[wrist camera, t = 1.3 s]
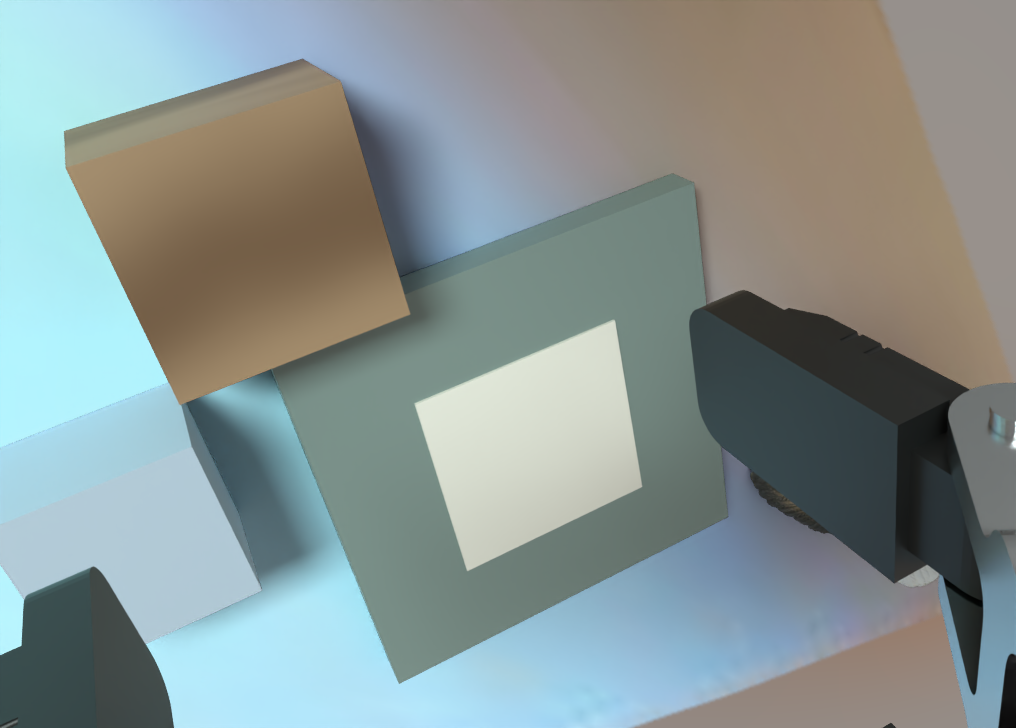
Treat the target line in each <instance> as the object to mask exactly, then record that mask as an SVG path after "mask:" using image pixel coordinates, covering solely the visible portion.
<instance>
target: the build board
mask: <svg viewBox="0 0 1016 728" xmlns="http://www.w3.org/2000/svg"><path fill="white" fill-rule="evenodd" d="M400 281H401V285H402V288H403V291H404V295H405V298H406V301H407V305H408V308H409V312H410V315H407V316H405V317H402V318H400V319H397V320H395V321H392V322H390V323H387V324H385V325H382V326H379V327H377V328H374V329H372V330H369V331H367V332H364V333H362V334H359V335H357V336H354V337H352V338H349V339H346V340H344V341H341V342H339V343H336V344H334V345H331V346H329V347H326V348H324V349H321V350H318V351H316V352H313V353H311V354H308V355H306V356H303V357H301V358H298V359H296V360H293V361H291V362H288V363H285V364H283V365H280V366H278V367H275V368H273V369H271V371H272V374H273V376H274V379H275V381H276V384H277V386H278V389H279V391H280V394H281V396H282V399H283V401H284V404H285V406H286V408H287V411H288V413H289V416H290V418H291V421H292V423H293V426H294V428H295V431H296V433H297V436H298V438H299V440H300V443H301V445H302V448H303V450H304V453H305V455H306V458H307V460H308V463H309V465H310V468H311V470H312V472H313V475H314V477H315V480H316V482H317V485H318V487H319V490H320V492H321V495H322V497H323V500H324V502H325V505H326V507H327V509H328V512H329V514H330V517H331V519H332V522H333V524H334V527H335V529H336V532H337V534H338V537H339V539H340V541H341V544H342V546H343V549H344V551H345V554H346V556H347V559H348V561H349V564H350V566H351V569H352V571H353V574H354V576H355V578H356V581H357V583H358V586H359V588H360V591H361V593H362V596H363V598H364V601H365V603H366V606H367V608H368V610H369V613H370V615H371V618H372V620H373V623H374V625H375V628H376V630H377V633H378V635H379V638H380V640H381V642H382V645H383V647H384V650H385V652H386V655H387V657H388V660H389V662H390V664H391V667H392V669H393V671H394V673H395V675H396V678H397V680H398V682H399V684H400V683H402V682H404V681H406V680H408V679H410V678H412V677H414V676H416V675H418V674H420V673H422V672H423V671H425V670H427V669H429V668H431V667H433V666H435V665H437V664H439V663H441V662H443V661H445V660H447V659H449V658H451V657H453V656H455V655H457V654H459V653H461V652H463V651H465V650H467V649H469V648H471V647H473V646H475V645H477V644H479V643H481V642H483V641H485V640H487V639H489V638H491V637H492V636H494V635H496V634H498V633H500V632H502V631H504V630H506V629H508V628H510V627H512V626H514V625H516V624H518V623H520V622H522V621H524V620H526V619H528V618H530V617H532V616H534V615H536V614H538V613H540V612H542V611H544V610H546V609H548V608H550V607H552V606H554V605H556V604H558V603H560V602H561V601H563V600H565V599H567V598H569V597H571V596H573V595H575V594H577V593H579V592H581V591H583V590H585V589H587V588H589V587H591V586H593V585H595V584H597V583H599V582H601V581H603V580H605V579H607V578H609V577H611V576H613V575H615V574H617V573H619V572H621V571H623V570H625V569H627V568H629V567H630V566H632V565H634V564H636V563H638V562H640V561H642V560H644V559H646V558H648V557H650V556H652V555H654V554H656V553H658V552H660V551H662V550H664V549H666V548H668V547H670V546H672V545H674V544H676V543H678V542H680V541H682V540H684V539H686V538H688V537H690V536H692V535H694V534H696V533H698V532H699V531H701V530H703V529H705V528H707V527H709V526H711V525H713V524H715V523H717V522H719V521H721V520H723V519H725V518H727V517H728V511H727V501H726V491H725V482H724V472H723V462H722V452H721V445H719V444H718V443H717V441H716V440H715V439H714V438H713V437H712V435H711V434H710V432H709V431H708V429H707V427H706V425H705V423H704V421H703V419H702V416H701V414H700V410H699V406H698V399H697V391H696V382H695V374H694V365H693V357H692V348H691V340H690V331H689V320H690V316H691V314H692V312H693V311H694V310H696V309H698V308H701V307H703V306H705V305H706V296H705V286H704V276H703V266H702V257H701V247H700V237H699V227H698V217H697V208H696V198H695V188H694V182H691V181H689V180H687V179H684V178H682V177H679V176H677V175H675V174H670V175H667V176H665V177H662V178H660V179H657V180H654V181H652V182H649V183H646V184H644V185H641V186H639V187H636V188H633V189H631V190H628V191H625V192H623V193H620V194H618V195H615V196H612V197H610V198H607V199H604V200H602V201H599V202H597V203H594V204H591V205H589V206H586V207H583V208H581V209H578V210H576V211H573V212H570V213H568V214H565V215H562V216H560V217H557V218H555V219H552V220H549V221H547V222H544V223H541V224H539V225H536V226H534V227H531V228H528V229H526V230H523V231H520V232H518V233H515V234H513V235H510V236H507V237H505V238H502V239H499V240H497V241H494V242H492V243H489V244H486V245H484V246H481V247H478V248H476V249H473V250H471V251H468V252H465V253H463V254H460V255H457V256H455V257H452V258H450V259H447V260H444V261H442V262H439V263H436V264H434V265H431V266H429V267H426V268H423V269H421V270H418V271H415V272H413V273H410V274H408V275H405V276H402V277H400Z"/></svg>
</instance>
